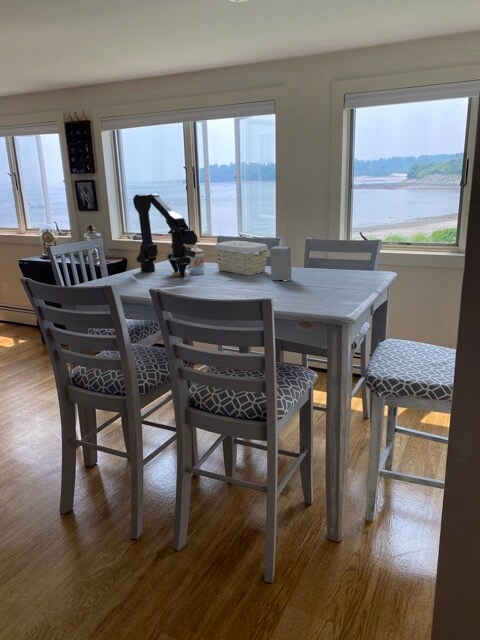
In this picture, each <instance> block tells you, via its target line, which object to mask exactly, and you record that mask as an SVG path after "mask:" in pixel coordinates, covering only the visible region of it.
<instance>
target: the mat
mask: <svg viewBox="0 0 480 640" xmlns="http://www.w3.org/2000/svg"><path fill="white" fill-rule="evenodd" d="M166 276H167V277H169V278H170V279H172V280H178V279H186V278H187V279H189V278H193V276H192V275H191V274H189V273H187V276H186V277H180V278H176V277H172V274H167V275H166Z"/></svg>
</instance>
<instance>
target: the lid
mask: <svg viewBox="0 0 480 640" xmlns="http://www.w3.org/2000/svg"><path fill="white" fill-rule="evenodd" d="M187 274H188V273H187V272H186V271H185V274H184V277H186V276H187ZM171 275H172V277H176V278H179V279H181V278H180V277H181V275H180V272H179V271H178V272H174V271H173V272H172V273H171Z"/></svg>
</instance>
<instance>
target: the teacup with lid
mask: <svg viewBox="0 0 480 640" xmlns="http://www.w3.org/2000/svg"><path fill="white" fill-rule="evenodd" d="M192 246H193V247H192V248H191V250H192V251H195V252H196V254H195V257H194V258H192V257H190V256H187V257H189V258H190V259H191V263H190V264H189V265H187V267H188V268H189V269H190V268H195V267H200V268H204V266H205V264H204V263H205V262H204V261H205V260H206V253H204V250H203V249H201V248H199V247H198V246H197V245H192Z"/></svg>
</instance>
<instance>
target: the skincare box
mask: <svg viewBox="0 0 480 640" xmlns="http://www.w3.org/2000/svg"><path fill="white" fill-rule="evenodd" d="M269 251H270V252H269V254H270V274H271V275H270V277H271V279H270V280H288V279H290V278H291V279H292V257H291V256H292V251H291V246H276V245H275V246H273V247H270V249H269ZM291 279H290V280H291Z"/></svg>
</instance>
